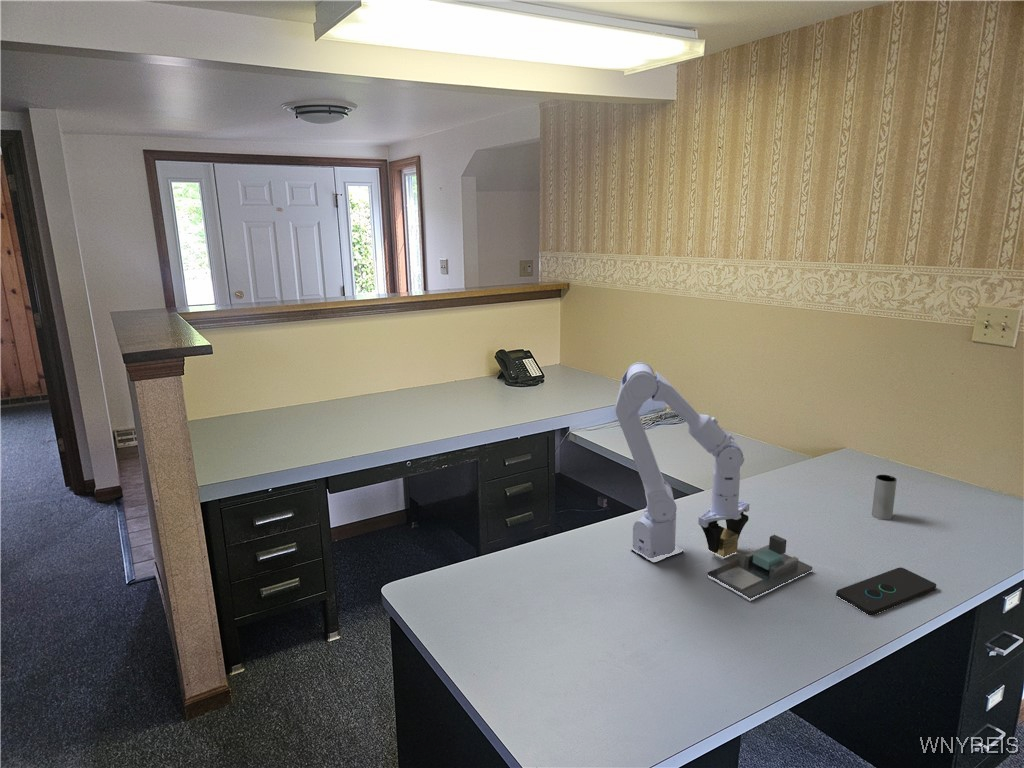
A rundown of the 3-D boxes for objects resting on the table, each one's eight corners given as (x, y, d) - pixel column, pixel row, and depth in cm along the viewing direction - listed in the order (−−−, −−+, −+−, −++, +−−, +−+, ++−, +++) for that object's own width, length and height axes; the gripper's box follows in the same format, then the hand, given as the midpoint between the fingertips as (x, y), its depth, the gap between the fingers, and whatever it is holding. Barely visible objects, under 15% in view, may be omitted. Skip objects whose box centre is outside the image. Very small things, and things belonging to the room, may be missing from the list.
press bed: (750, 601, 130) (751, 587, 129) (707, 577, 139) (708, 564, 138) (812, 571, 140) (813, 558, 139) (768, 551, 149) (769, 538, 148)
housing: (723, 560, 146) (724, 539, 145) (707, 551, 150) (708, 532, 148) (736, 554, 148) (738, 534, 147) (721, 546, 152) (722, 526, 151)
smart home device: (834, 589, 131) (900, 565, 139) (833, 597, 131) (899, 573, 139) (871, 611, 123) (939, 584, 131) (870, 619, 124) (938, 592, 132)
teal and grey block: (768, 570, 137) (770, 548, 136) (752, 562, 140) (754, 541, 139) (786, 562, 140) (788, 540, 139) (771, 554, 143) (772, 533, 142)
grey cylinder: (887, 512, 166) (891, 474, 164) (895, 520, 162) (900, 481, 159) (868, 512, 167) (872, 474, 164) (876, 519, 162) (880, 481, 160)
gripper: (717, 506, 138) (714, 563, 142) (762, 489, 146) (758, 545, 149) (692, 494, 144) (689, 550, 147) (736, 480, 151) (733, 533, 155)
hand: (722, 547), depth 149 cm, fingers open, 6 cm apart
